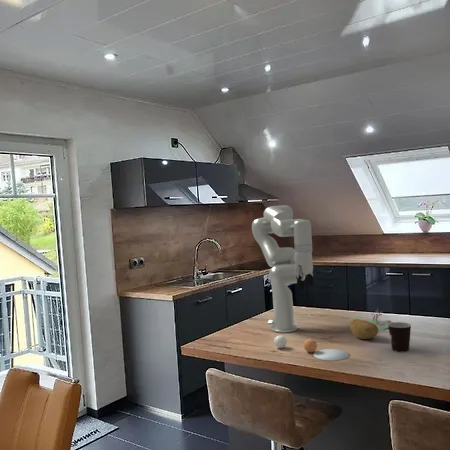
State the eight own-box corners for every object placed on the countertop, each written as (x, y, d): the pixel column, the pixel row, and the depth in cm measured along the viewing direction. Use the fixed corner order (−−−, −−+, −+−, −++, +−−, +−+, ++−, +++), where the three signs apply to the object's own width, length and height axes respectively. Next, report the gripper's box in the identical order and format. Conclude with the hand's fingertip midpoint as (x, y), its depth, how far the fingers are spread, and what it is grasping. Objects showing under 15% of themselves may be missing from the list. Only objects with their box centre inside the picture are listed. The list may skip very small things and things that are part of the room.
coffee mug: (409, 353, 186) (408, 328, 186) (387, 351, 190) (385, 326, 190) (415, 345, 196) (414, 321, 195) (393, 343, 200) (392, 319, 200)
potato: (369, 344, 202) (368, 325, 201) (344, 337, 214) (343, 319, 213) (385, 339, 207) (384, 321, 206) (360, 333, 219) (359, 316, 218)
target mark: (307, 357, 189) (307, 357, 189) (322, 347, 200) (322, 347, 200) (341, 362, 181) (341, 362, 181) (354, 352, 192) (354, 351, 192)
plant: (337, 324, 239) (336, 306, 239) (364, 317, 251) (363, 300, 250) (378, 333, 219) (377, 314, 218) (406, 325, 230) (405, 306, 230)
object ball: (301, 353, 195) (301, 340, 195) (307, 349, 200) (306, 336, 199) (313, 354, 192) (313, 341, 192) (319, 351, 197) (318, 338, 196)
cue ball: (272, 348, 204) (271, 336, 203) (278, 345, 208) (277, 333, 208) (283, 350, 200) (282, 337, 200) (289, 346, 205) (288, 334, 205)
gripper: (303, 246, 216) (305, 283, 217) (287, 250, 202) (289, 290, 203) (319, 246, 212) (320, 284, 213) (303, 250, 198) (305, 291, 199)
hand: (305, 287), depth 208 cm, fingers open, 9 cm apart
